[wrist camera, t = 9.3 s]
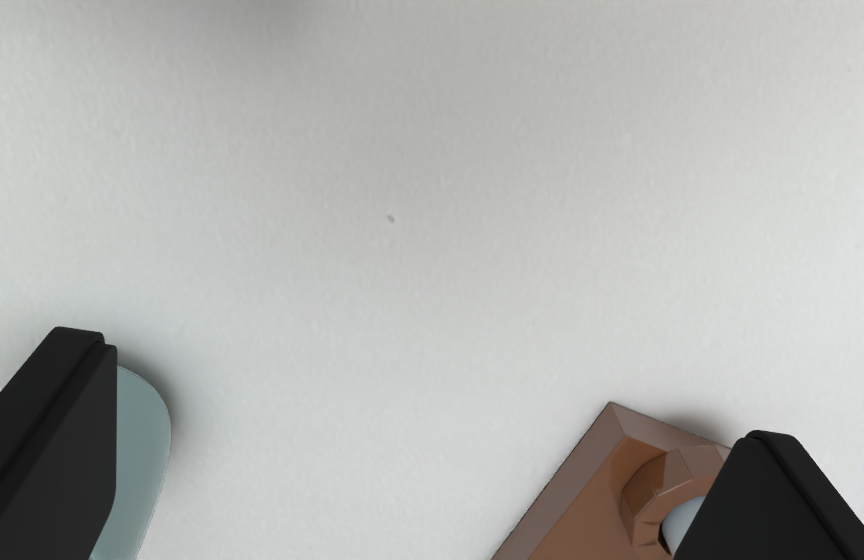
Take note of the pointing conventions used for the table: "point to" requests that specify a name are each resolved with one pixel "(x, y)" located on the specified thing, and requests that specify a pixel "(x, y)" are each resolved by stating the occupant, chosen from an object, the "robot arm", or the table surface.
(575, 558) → the brown mounting plate
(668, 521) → the pale blue short cylinder
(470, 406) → the table surface
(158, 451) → the cup
